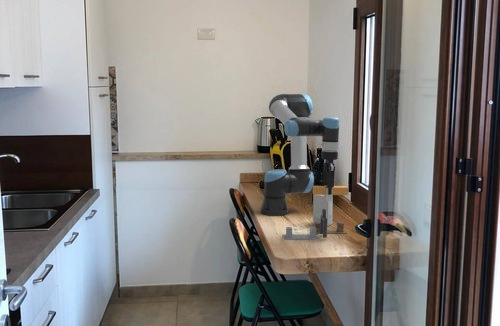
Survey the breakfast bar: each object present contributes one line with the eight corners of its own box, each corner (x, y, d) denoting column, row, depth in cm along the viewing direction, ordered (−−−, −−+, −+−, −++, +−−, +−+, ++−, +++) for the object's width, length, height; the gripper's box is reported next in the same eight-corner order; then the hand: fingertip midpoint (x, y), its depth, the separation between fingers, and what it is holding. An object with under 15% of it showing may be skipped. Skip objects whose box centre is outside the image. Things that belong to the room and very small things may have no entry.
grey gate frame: (319, 233, 238) (320, 207, 237) (323, 233, 238) (324, 207, 237) (323, 237, 232) (324, 211, 230) (326, 237, 232) (327, 211, 230)
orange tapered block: (312, 193, 243) (312, 185, 243) (345, 193, 244) (346, 186, 244) (314, 194, 239) (314, 187, 239) (348, 195, 240) (348, 187, 240)
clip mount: (282, 235, 237) (282, 226, 236) (316, 235, 238) (317, 225, 237) (284, 239, 230) (284, 229, 230) (319, 239, 232) (320, 229, 231)
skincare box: (332, 224, 259) (333, 193, 257) (327, 227, 253) (328, 196, 251) (317, 221, 263) (318, 191, 261) (311, 224, 257) (313, 194, 255)
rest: (310, 230, 247) (311, 221, 246) (343, 230, 248) (344, 221, 247) (313, 233, 241) (313, 224, 240) (346, 233, 242) (347, 224, 241)
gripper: (318, 148, 247) (316, 196, 250) (325, 152, 230) (323, 204, 233) (333, 148, 248) (331, 196, 251) (342, 153, 231) (340, 204, 234)
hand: (327, 200), depth 242 cm, fingers closed on orange tapered block, 4 cm apart
